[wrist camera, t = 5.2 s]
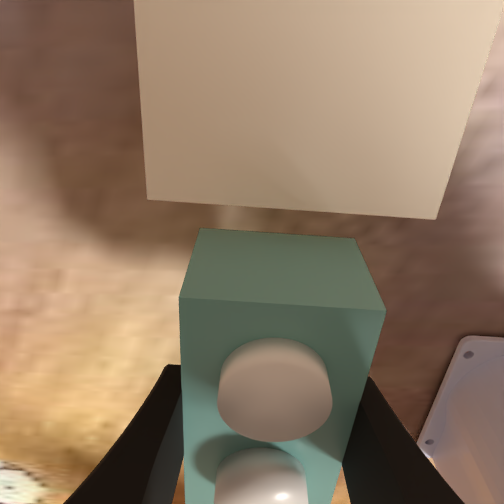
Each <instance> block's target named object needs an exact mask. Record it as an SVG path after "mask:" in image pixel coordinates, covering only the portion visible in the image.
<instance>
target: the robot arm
mask: <svg viewBox="0 0 504 504" xmlns="http://www.w3.org/2000/svg"><path fill="white" fill-rule="evenodd" d="M467 351H469V352H467ZM466 352H467V353H466ZM183 456H184V435H183V402H182V385H181V365H172V364H168V365H167V366H165V367H164V369H163V371H162V373H161V375H160V377H159V379H158V380H157V382H156V384H155V386H154V387H153V389H152V390H151V392H150V394H149V395H148V397H147V398H146V400H145V401H144V403H143V405H142V406H141V408H140V409H139V410H138V412H137V413H136V415H135V416H134V418H133V419H132V421H131V422H130V423H129V425H128V426H127V428H126V429H125V430H124V432H123V433H122V434H121V436H120V437H119V438H118V440H117V441H116V442H115V444H114V445H113V446H112V447H111V449H110V450H109V451H108V453H107V454H106V455H105V456H104V458H103V459H102V460H101V461H100V463H99V464H98V465H97V466H96V467H95V469H94V470H93V471H92V472H91V473H90V475H89V476H88V477H87V478H86V479H85V480H84V481H83V483H82V484H81V485H80V486H79V487H78V488H77V489H76V491H75V492H74V493H73V494H72V495H71V496H70V497H69V498H68V499H67V500H66V501H65V502H64V503H63V504H172V500H173V496H174V493H175V489H176V485H177V481H178V477H179V473H180V469H181V464H182V460H183ZM427 457H428V458H433V461H434V463H435V466H436V468H437V470H436V468H435V467H434V466H433V465H432V463H431V462H430V461H429V460H428V458H427ZM342 467H343V471H344V476H345V480H346V485H347V489H348V493H349V498H350V502H351V504H504V337H488V336H473V335H471V336H466V337H464V338H462V339H461V340H460V342H459V344H458V346H457V348H456V351H455V353H454V356H453V358H452V360H451V363H450V365H449V367H448V370H447V372H446V374H445V377H444V379H443V382H442V384H441V386H440V389H439V391H438V393H437V396H436V398H435V401H434V403H433V405H432V408H431V410H430V412H429V415H428V417H427V419H426V422H425V424H424V427H423V429H422V431H421V434H420V436H419V438H418V441H417V443H416V442H415V441H414V440H413V438H412V437H411V436H410V434H409V433H408V432H407V430H406V429H405V427H404V426H403V424H402V423H401V422H400V420H399V419H398V417H397V416H396V414H395V413H394V412H393V410H392V409H391V407H390V406H389V404H388V403H387V401H386V400H385V398H384V397H383V395H382V394H381V392H380V391H379V389H378V387H377V386H376V384H375V383H374V381H373V380H372V379H371V378H370V377H367V380H366V384H365V387H364V391H363V394H362V397H361V401H360V403H359V406H358V410H357V413H356V416H355V420H354V423H353V427H352V430H351V433H350V437H349V440H348V444H347V447H346V451H345V454H344V457H343V461H342Z"/></svg>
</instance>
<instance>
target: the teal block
mask: <svg viewBox="0 0 504 504" xmlns="http://www.w3.org/2000/svg"><path fill="white" fill-rule="evenodd" d="M386 312H387V310H386V308H385V306H384V303H383V301H382V299H381V297H380V294H379V292H378V290H377V288H376V285H375V283H374V281H373V279H372V276H371V274H370V272H369V270H368V267H367V265H366V263H365V261H364V258H363V256H362V254H361V252H360V249H359V247H358V245H357V243H356V240H355V238H343V237H328V236H313V235H299V234H284V233H269V232H254V231H240V230H225V229H210V228H200V229H199V233H198V236H197V239H196V243H195V246H194V249H193V252H192V256H191V259H190V262H189V265H188V269H187V272H186V275H185V279H184V282H183V285H182V288H181V292H180V295H179V321H180V353H181V385H182V402H183V435H184V483H185V504H330V503H331V500H332V497H333V493H334V490H335V486H336V483H337V479H338V476H339V473H340V469H341V466H342V461H343V457H344V454H345V451H346V447H347V444H348V440H349V437H350V433H351V430H352V427H353V423H354V420H355V416H356V413H357V410H358V406H359V403H360V401H361V397H362V394H363V391H364V387H365V384H366V380H367V377H368V373H369V370H370V367H371V363H372V360H373V356H374V353H375V349H376V346H377V343H378V339H379V336H380V332H381V329H382V326H383V322H384V319H385V315H386Z"/></svg>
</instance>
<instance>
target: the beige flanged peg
mask: <svg viewBox="0 0 504 504" xmlns="http://www.w3.org/2000/svg"><path fill="white" fill-rule="evenodd" d="M503 8H504V0H134V14H135V29H136V43H137V58H138V73H139V88H140V102H141V117H142V132H143V147H144V161H145V176H146V191H147V200H159V201H173V202H188V203H202V204H216V205H231V206H245V207H260V208H274V209H289V210H303V211H318V212H332V213H347V214H361V215H375V216H390V217H404V218H419V219H433V220H436V217H437V214H438V211H439V208H440V205H441V202H442V199H443V196H444V192H445V189H446V186H447V183H448V180H449V177H450V174H451V171H452V167H453V164H454V161H455V158H456V155H457V152H458V149H459V146H460V143H461V139H462V136H463V133H464V130H465V127H466V124H467V121H468V118H469V114H470V111H471V108H472V105H473V102H474V99H475V96H476V93H477V90H478V86H479V83H480V80H481V77H482V74H483V71H484V68H485V65H486V61H487V58H488V55H489V52H490V49H491V46H492V43H493V40H494V37H495V33H496V30H497V27H498V24H499V21H500V18H501V15H502V12H503Z"/></svg>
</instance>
